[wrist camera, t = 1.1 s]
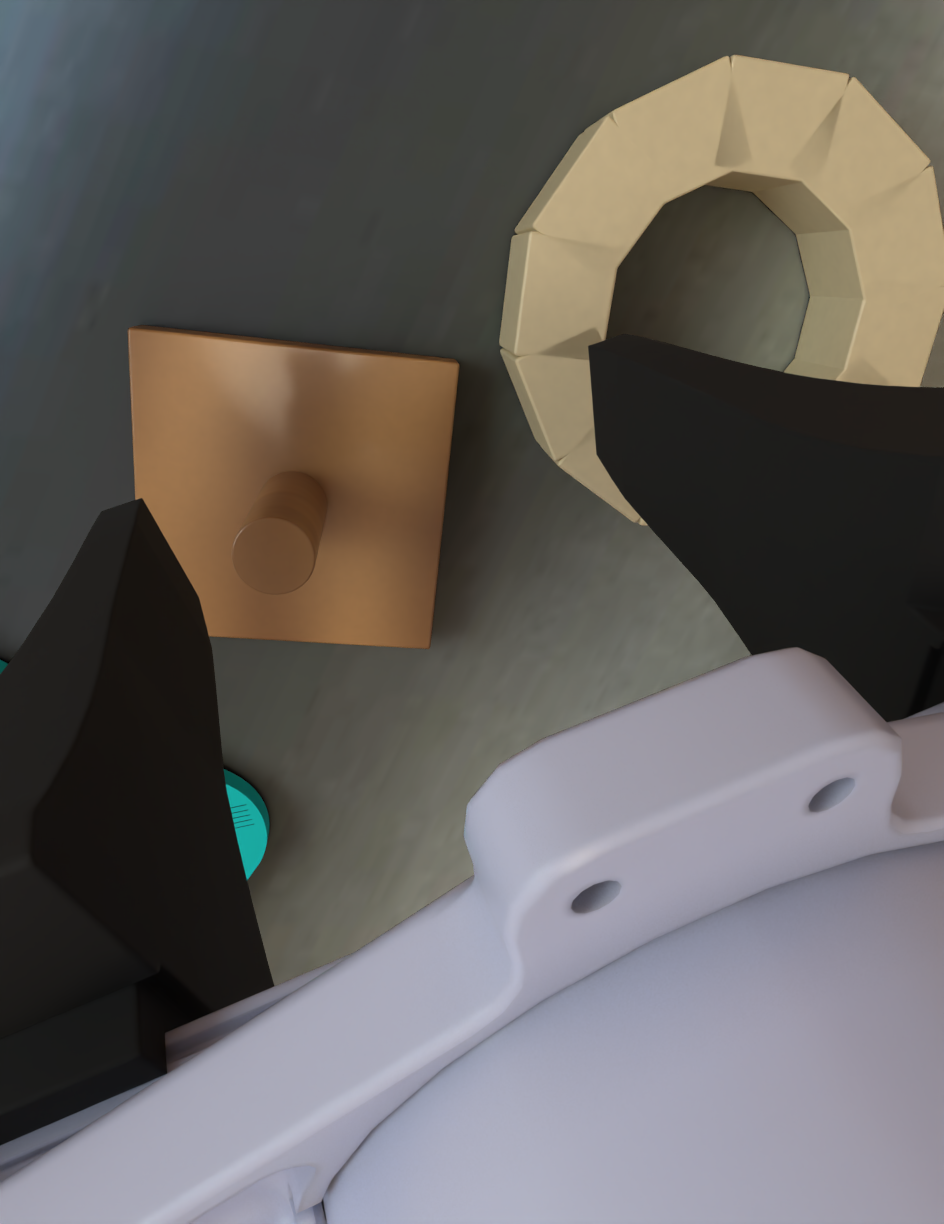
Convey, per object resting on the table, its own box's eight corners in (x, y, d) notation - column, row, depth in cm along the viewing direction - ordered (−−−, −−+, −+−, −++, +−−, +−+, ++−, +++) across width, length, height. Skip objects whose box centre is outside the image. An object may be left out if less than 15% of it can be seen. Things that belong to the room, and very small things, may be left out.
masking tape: (935, 121, 23) (1011, 100, 20) (821, 517, 27) (871, 545, 24) (533, 55, 21) (555, 23, 18) (481, 487, 26) (493, 514, 23)
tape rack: (456, 358, 24) (479, 385, 18) (428, 634, 27) (440, 726, 22) (138, 324, 23) (61, 341, 17) (150, 617, 26) (89, 711, 21)
